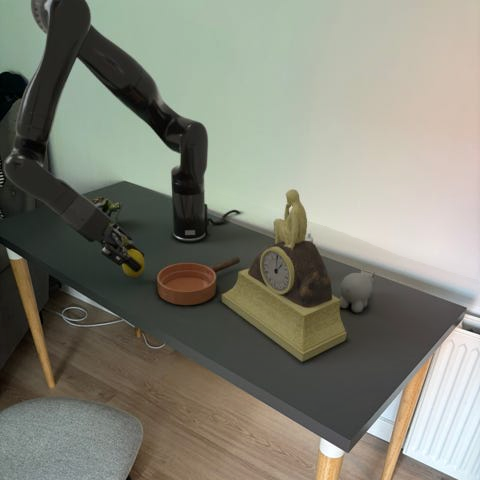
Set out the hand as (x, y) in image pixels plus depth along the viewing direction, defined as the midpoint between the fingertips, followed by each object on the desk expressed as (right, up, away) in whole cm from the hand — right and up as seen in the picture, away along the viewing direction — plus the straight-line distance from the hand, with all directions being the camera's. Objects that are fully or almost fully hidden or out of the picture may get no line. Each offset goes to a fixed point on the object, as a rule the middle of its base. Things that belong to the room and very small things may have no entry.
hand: (140, 263), depth 126 cm
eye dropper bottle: (+41, -3, +8) cm, 42 cm away
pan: (+12, -7, 0) cm, 13 cm away
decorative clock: (+34, -14, -10) cm, 38 cm away
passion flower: (-16, +13, +28) cm, 35 cm away
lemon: (-2, -4, +2) cm, 5 cm away
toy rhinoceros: (+53, -10, -2) cm, 54 cm away
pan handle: (+20, -1, +6) cm, 21 cm away
